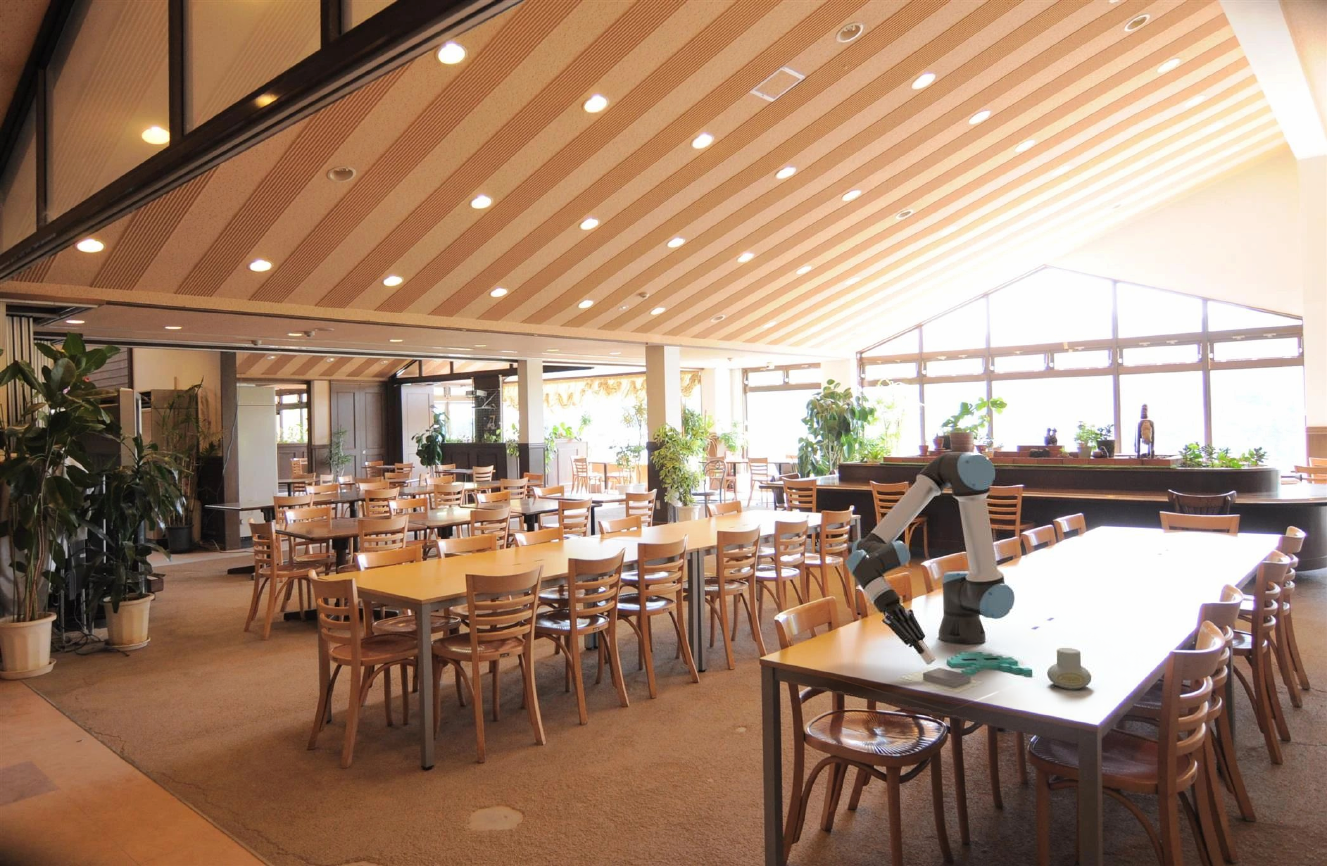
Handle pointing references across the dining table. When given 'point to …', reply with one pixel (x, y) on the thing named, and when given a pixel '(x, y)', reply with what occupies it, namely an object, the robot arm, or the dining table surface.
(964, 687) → the felt mat
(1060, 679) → the air freshener
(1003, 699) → the dining table surface
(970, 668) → the alien figure
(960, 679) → the slate tile
